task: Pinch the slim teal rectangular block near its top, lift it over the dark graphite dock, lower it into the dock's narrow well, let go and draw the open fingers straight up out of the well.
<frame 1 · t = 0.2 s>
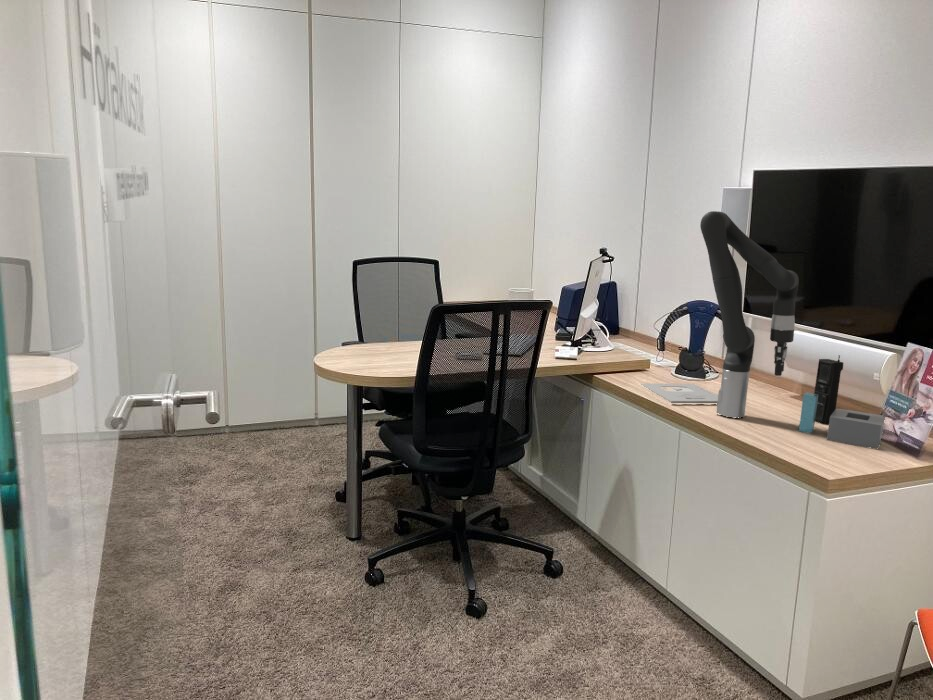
hand: (779, 373, 258), 18 cm above the worktop, tool pointing down, fingers open, 8 cm apart
portable radio: (820, 421, 268), on the worktop
teal rectangular block: (806, 430, 253), on the worktop
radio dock: (854, 439, 245), on the worktop
award plaque: (682, 397, 298), on the worktop
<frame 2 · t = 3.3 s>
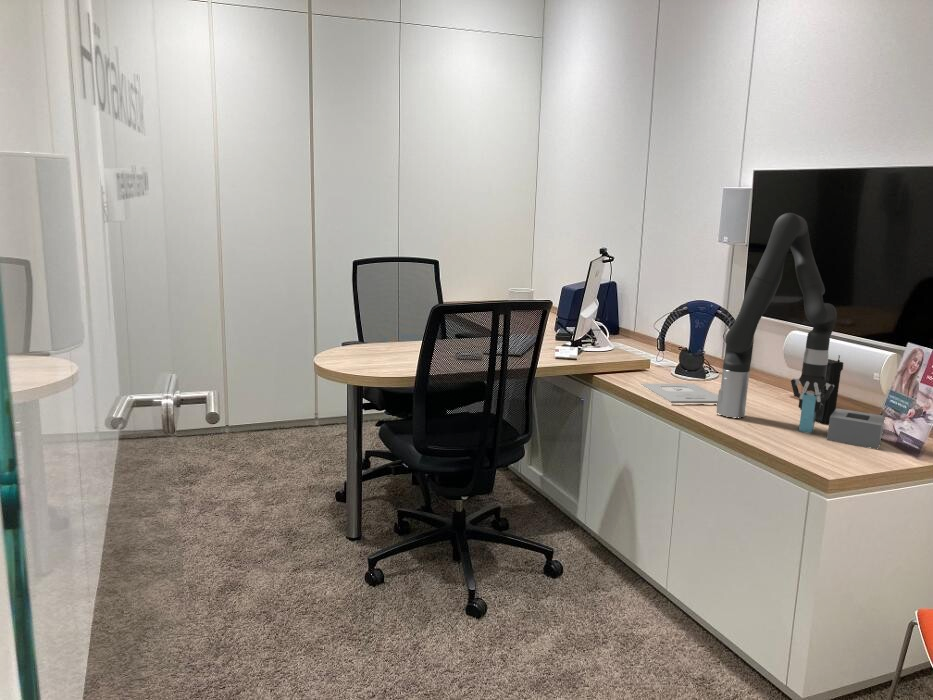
hand: (808, 410, 252), 7 cm above the worktop, tool pointing down, fingers closed on teal rectangular block, 4 cm apart
teal rectangular block: (806, 430, 253), on the worktop, touching gripper
everything else where it was.
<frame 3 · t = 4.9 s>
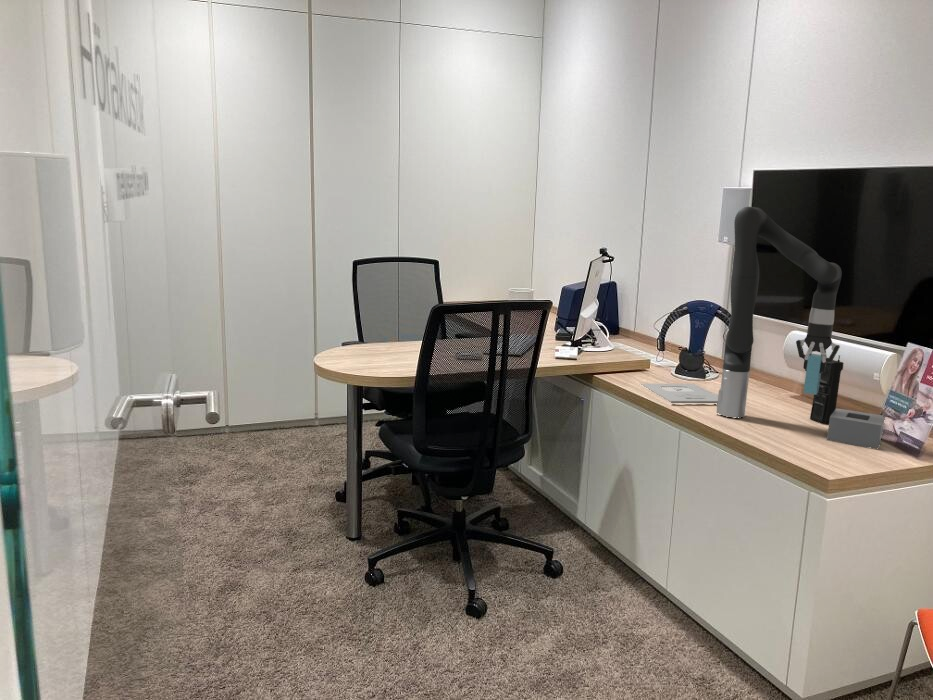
hand: (813, 371, 250), 21 cm above the worktop, tool pointing down, fingers closed on teal rectangular block, 4 cm apart
teal rectangular block: (810, 392, 251), point 14 cm above the worktop, touching gripper
everything else where it was.
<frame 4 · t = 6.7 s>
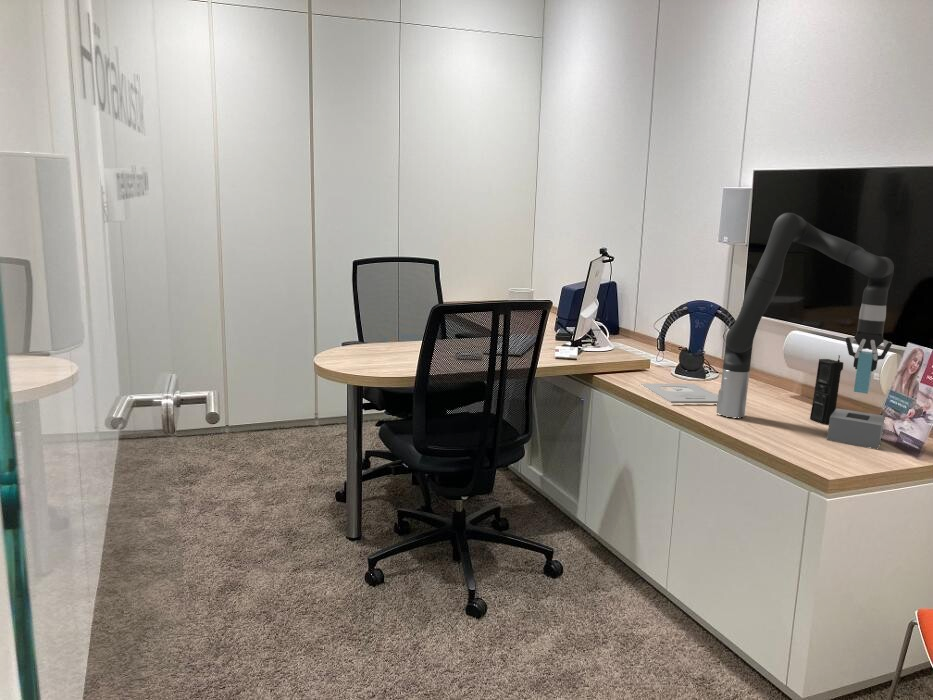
hand: (864, 369, 241), 24 cm above the worktop, tool pointing down, fingers closed on teal rectangular block, 4 cm apart
teal rectangular block: (861, 391, 242), point 17 cm above the worktop, touching gripper
everything else where it was.
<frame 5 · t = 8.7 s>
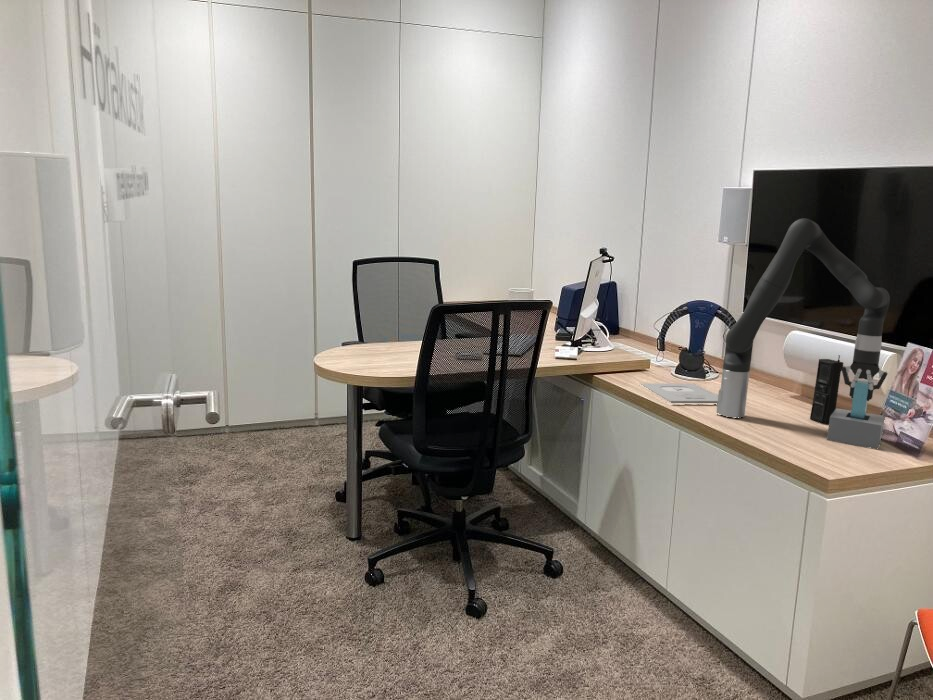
hand: (860, 399, 243), 14 cm above the worktop, tool pointing down, fingers closed on teal rectangular block, 4 cm apart
teal rectangular block: (857, 420, 244), point 7 cm above the worktop, touching gripper
everything else where it was.
when the fingers open (10 cm above the worktop, at t = 10.1 s): teal rectangular block drops 2 cm, resting on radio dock.
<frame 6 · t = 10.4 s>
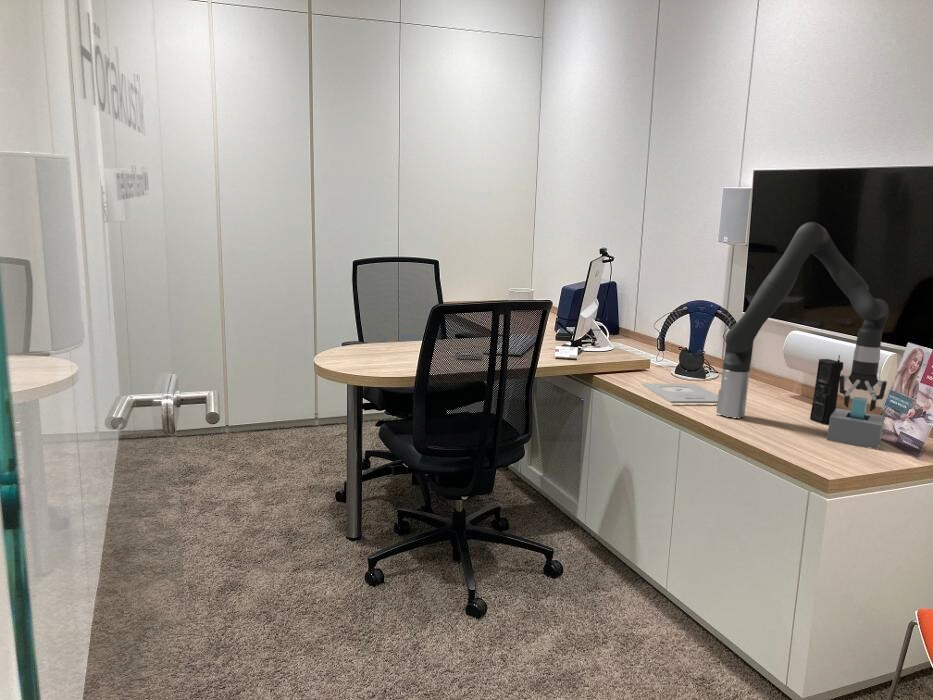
hand: (859, 408, 243), 11 cm above the worktop, tool pointing down, fingers open, 6 cm apart
teal rectangular block: (854, 436, 245), point 1 cm above the worktop, touching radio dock
everything else where it was.
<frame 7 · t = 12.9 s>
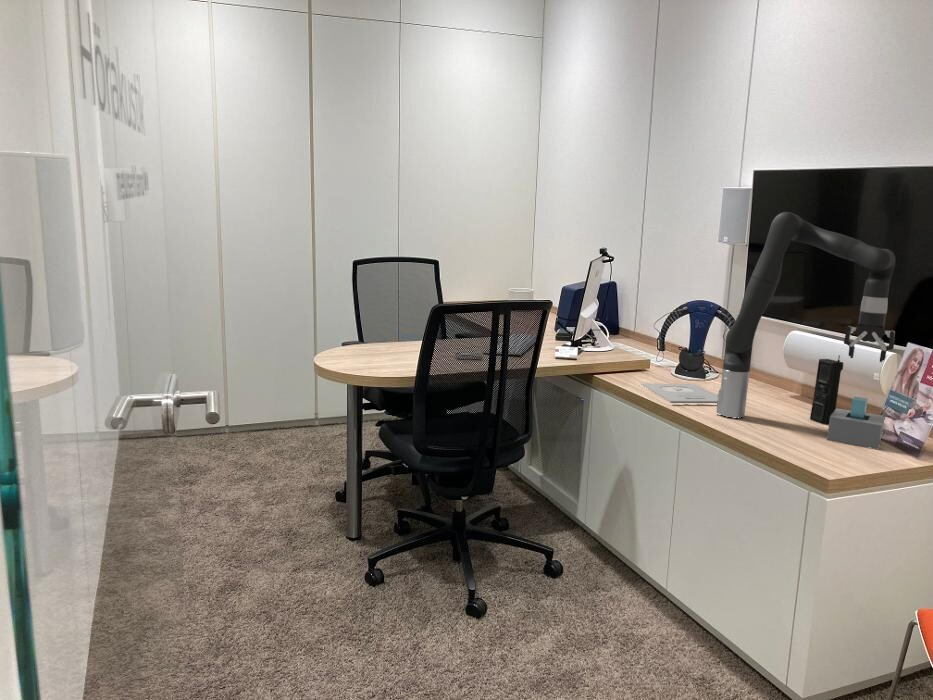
hand: (866, 359, 240), 27 cm above the worktop, tool pointing down, fingers open, 8 cm apart
nothing on the worktop moved.
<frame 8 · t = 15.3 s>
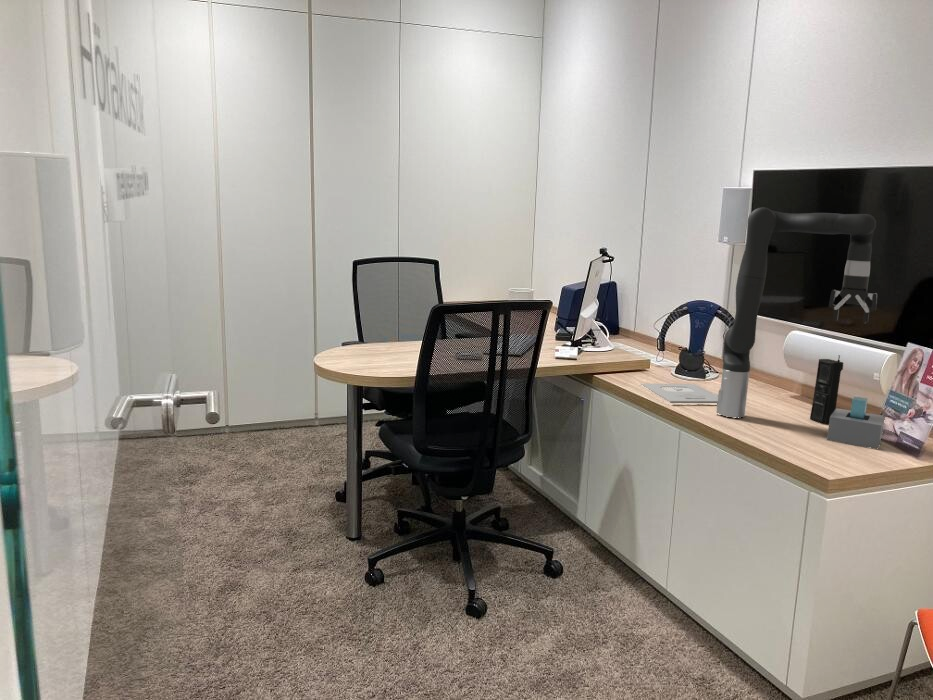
hand: (850, 322, 249), 38 cm above the worktop, tool pointing down, fingers open, 8 cm apart
nothing on the worktop moved.
at the end: teal rectangular block 0.1 cm off-centre on the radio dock, point 1.0 cm above the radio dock's base; teal rectangular block tilted 0°; the gripper is holding nothing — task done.
